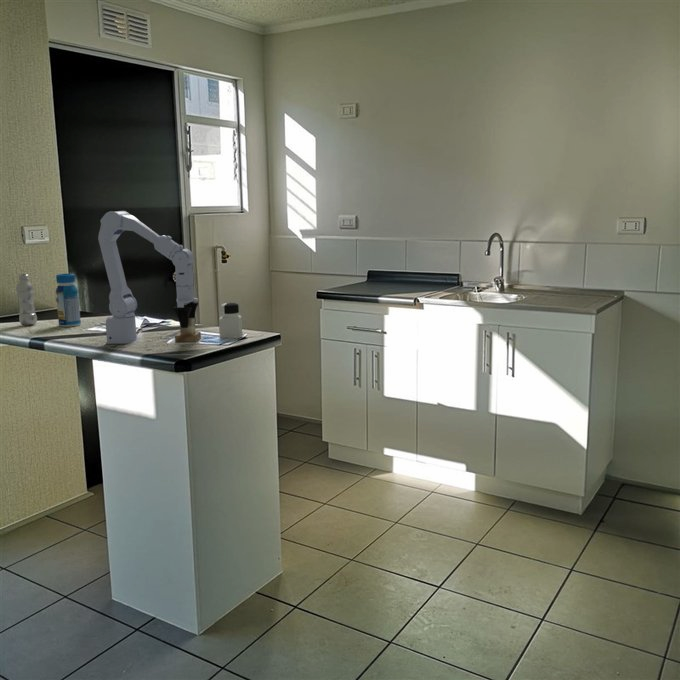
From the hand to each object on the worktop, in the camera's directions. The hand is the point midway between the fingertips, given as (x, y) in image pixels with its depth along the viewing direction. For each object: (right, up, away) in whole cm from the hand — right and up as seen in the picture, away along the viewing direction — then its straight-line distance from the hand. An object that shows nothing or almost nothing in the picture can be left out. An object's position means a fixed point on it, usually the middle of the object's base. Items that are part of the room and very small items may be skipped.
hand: (187, 325), depth 242 cm
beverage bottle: (-54, +1, +39) cm, 67 cm away
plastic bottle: (-71, +1, +40) cm, 82 cm away
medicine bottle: (+13, -4, +9) cm, 17 cm away
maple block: (0, -3, +1) cm, 3 cm away
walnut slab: (0, -5, +1) cm, 5 cm away
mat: (0, -6, +1) cm, 6 cm away
